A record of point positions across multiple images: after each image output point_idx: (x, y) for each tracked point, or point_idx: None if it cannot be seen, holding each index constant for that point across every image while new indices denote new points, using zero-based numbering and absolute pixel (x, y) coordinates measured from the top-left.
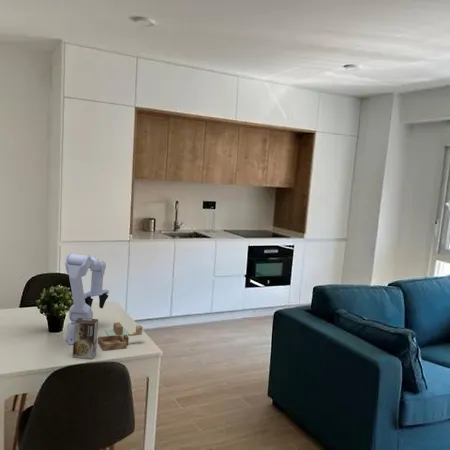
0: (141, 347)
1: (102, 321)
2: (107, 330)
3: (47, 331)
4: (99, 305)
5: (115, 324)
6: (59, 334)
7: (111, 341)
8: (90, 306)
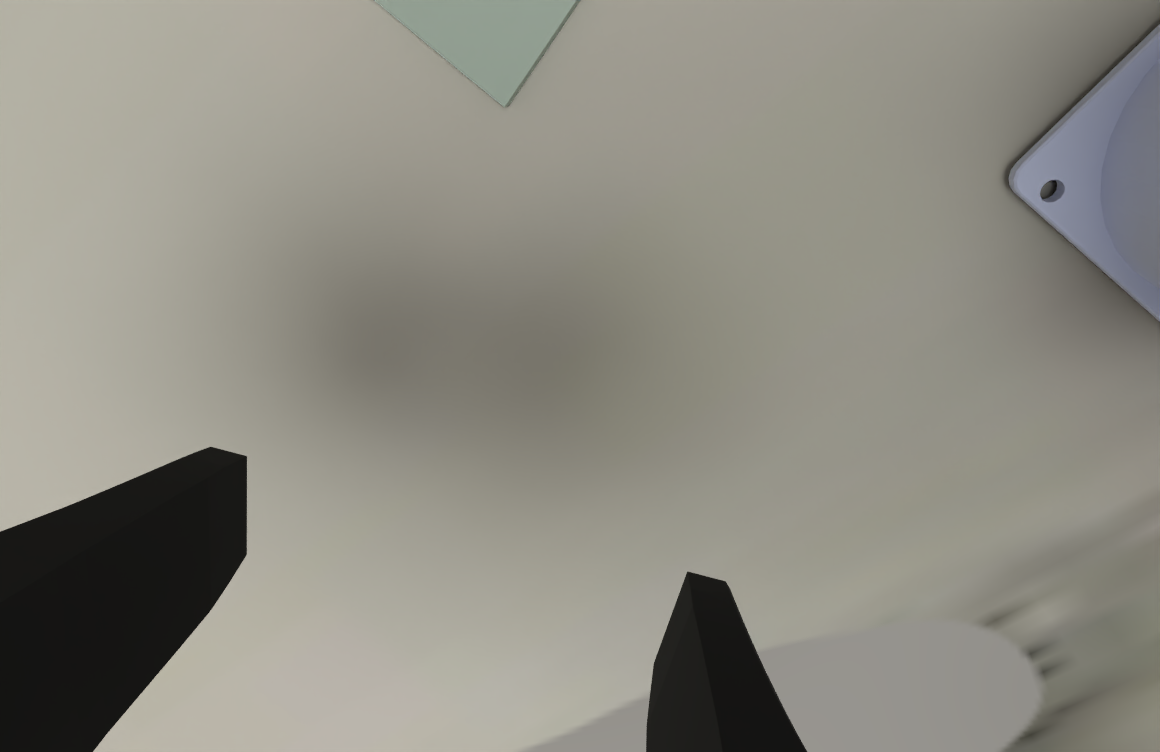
0: None
1: (218, 417)
2: (494, 33)
3: (1048, 742)
4: (205, 606)
5: None
6: (1092, 577)
7: None
8: (763, 707)
